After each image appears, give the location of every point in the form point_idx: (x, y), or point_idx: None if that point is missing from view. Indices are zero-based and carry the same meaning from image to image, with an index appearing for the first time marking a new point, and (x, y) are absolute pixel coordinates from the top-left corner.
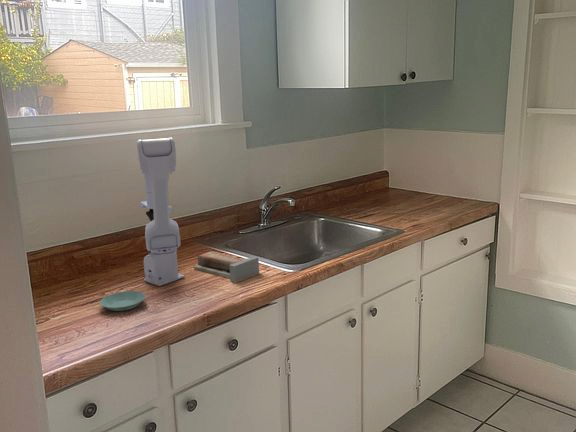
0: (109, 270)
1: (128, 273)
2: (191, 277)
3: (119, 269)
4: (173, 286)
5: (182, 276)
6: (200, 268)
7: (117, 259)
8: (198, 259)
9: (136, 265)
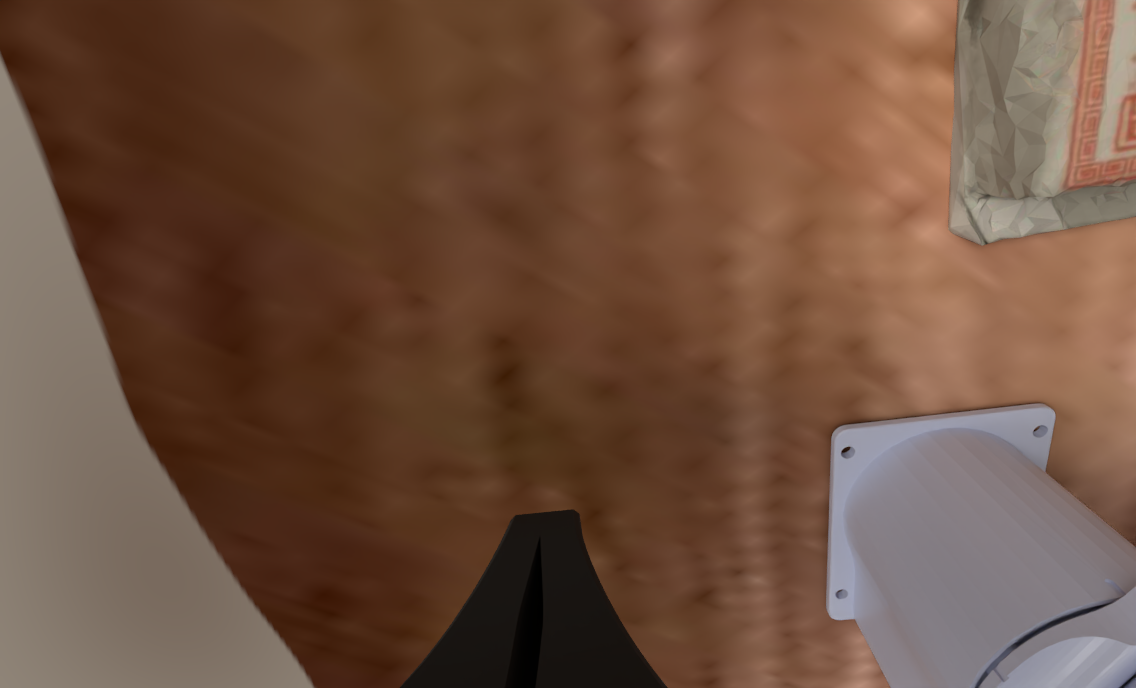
0: None
1: None
2: (1090, 363)
3: None
4: None
5: (1052, 429)
6: (1066, 226)
7: (209, 540)
8: (1026, 197)
9: (465, 509)
